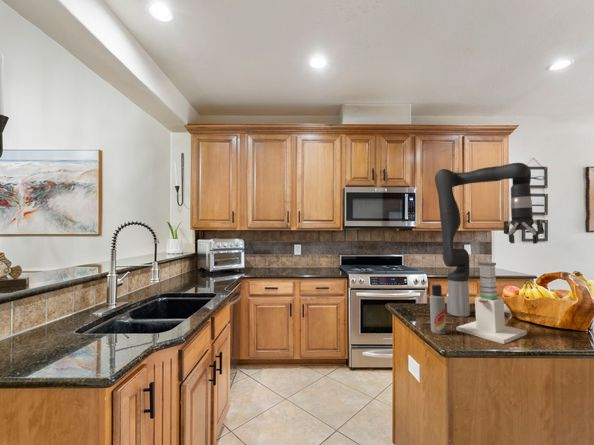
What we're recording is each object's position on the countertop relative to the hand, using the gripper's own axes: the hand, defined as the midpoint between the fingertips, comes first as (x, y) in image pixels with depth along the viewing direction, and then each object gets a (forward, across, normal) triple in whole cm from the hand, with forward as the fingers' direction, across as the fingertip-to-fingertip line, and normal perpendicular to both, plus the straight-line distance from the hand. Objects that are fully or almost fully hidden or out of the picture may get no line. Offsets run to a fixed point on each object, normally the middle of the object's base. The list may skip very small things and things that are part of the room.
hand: (523, 243), depth 128 cm
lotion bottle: (+36, +16, +40) cm, 56 cm away
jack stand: (+36, +4, +23) cm, 43 cm away
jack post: (+27, +4, +23) cm, 36 cm away
